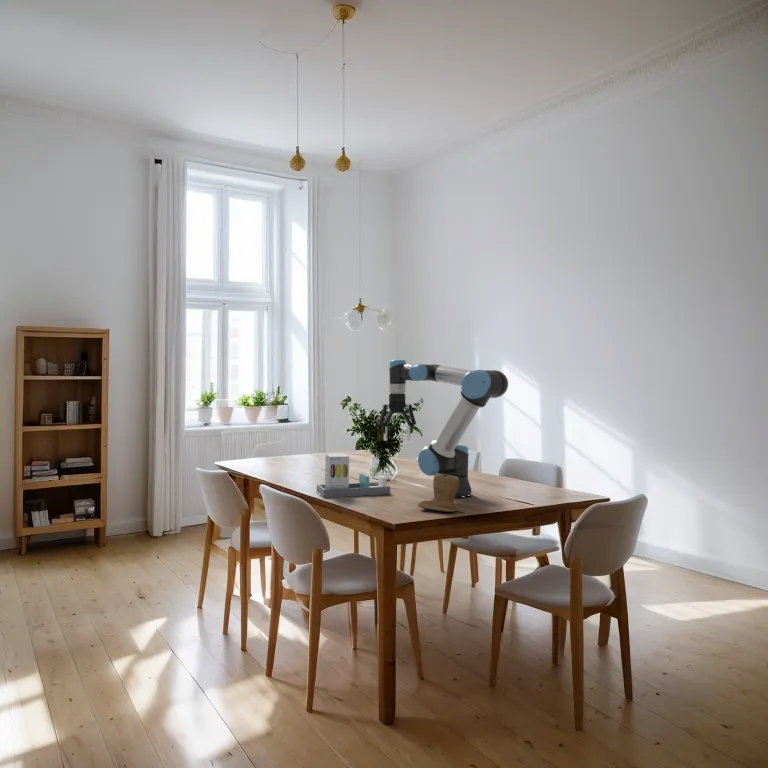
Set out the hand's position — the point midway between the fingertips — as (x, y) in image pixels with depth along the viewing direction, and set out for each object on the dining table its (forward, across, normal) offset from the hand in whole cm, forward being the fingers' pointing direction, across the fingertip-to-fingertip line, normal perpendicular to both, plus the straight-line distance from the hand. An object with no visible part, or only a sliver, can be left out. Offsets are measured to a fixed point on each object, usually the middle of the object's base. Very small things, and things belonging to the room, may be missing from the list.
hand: (396, 440), depth 317 cm
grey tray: (+24, -22, 0) cm, 32 cm away
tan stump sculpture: (+24, +2, -46) cm, 52 cm away
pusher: (+23, -11, 0) cm, 25 cm away
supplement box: (+23, -29, 0) cm, 37 cm away
